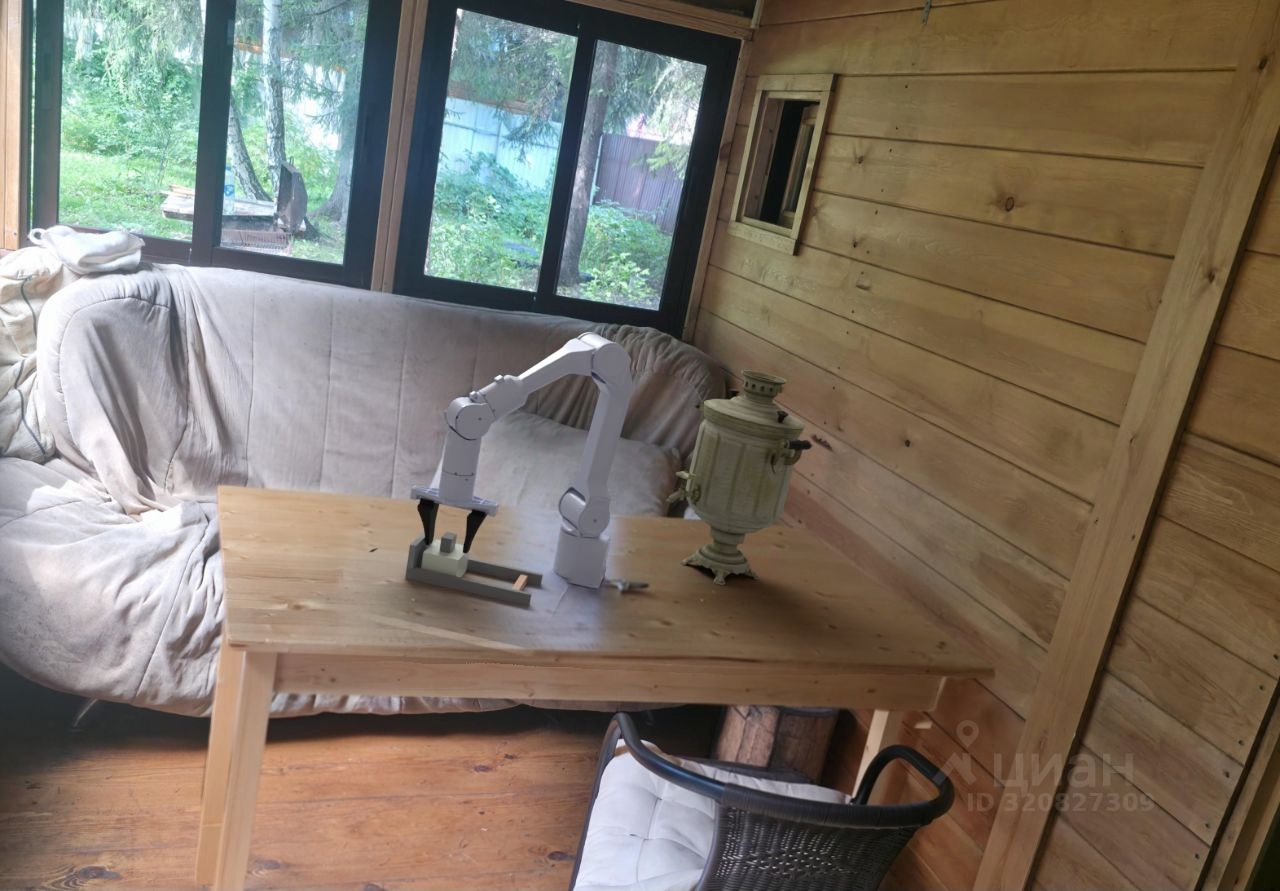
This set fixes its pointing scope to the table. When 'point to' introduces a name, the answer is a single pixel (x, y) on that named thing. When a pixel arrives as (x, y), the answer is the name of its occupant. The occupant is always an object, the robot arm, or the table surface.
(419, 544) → the bay
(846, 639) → the table surface
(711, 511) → the samovar
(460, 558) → the pale green knobbed block
